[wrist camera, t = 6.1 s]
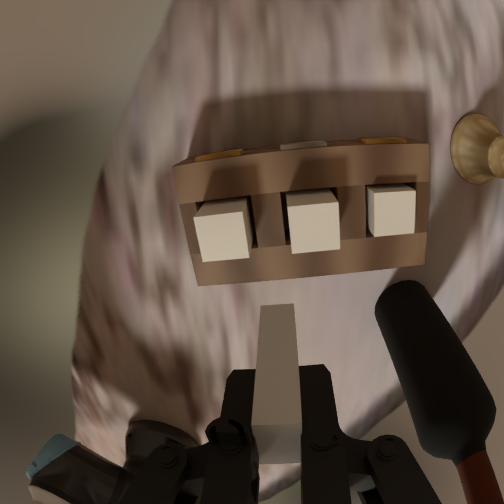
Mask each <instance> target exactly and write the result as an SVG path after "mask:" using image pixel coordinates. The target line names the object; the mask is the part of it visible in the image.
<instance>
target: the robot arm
mask: <svg viewBox="0 0 504 504" xmlns="http://www.w3.org/2000/svg"><path fill="white" fill-rule="evenodd" d="M205 433H206V436H207V438H208V440H209V442H207V443H206V444H204V445H200V446H198V444H197V442H196V441H195V440H194V439H193V438H192V437H190V436H189V435H188V434H186V433H184V432H183V431H181V430H179V429H176V428H174V427H172V426H169V425H166V424H162V423H158V422H153V421H136V422H133V423H132V424H130V426H129V428H128V430H127V433H126V439H125V440H126V460H125V464H124V466H123V467H121V466H119V465H117V464H115V463H113V462H111V461H109V460H107V459H106V458H104V457H102V456H100V455H99V454H97V453H95V452H93V451H92V450H90V449H88V448H87V447H85V446H84V445H82V444H81V443H80V442H77V441H74V440H73V439H71V438H70V437H68V436H66V435H64V434H62V433H57V434H55V435H53V436H52V437H51V438H50V439H49V440H48V441H47V443H46V444H45V445H44V446H43V447H42V449H41V450H40V451H39V453H38V454H37V456H36V457H35V458H34V460H33V462H32V463H31V464H30V466H29V467H28V469H27V471H26V475H27V476H28V478H29V479H31V480H32V481H31V483H30V485H29V490H30V492H31V495H32V497H33V501H32V503H31V504H258V496H259V480H260V477H259V472H258V469H259V463H260V464H285V463H301V504H351V496H350V490H353V491H357V493H358V495H359V497H360V500H361V502H362V504H442V503H441V502H440V500H439V498H438V496H437V495H436V493H435V491H434V489H433V488H432V486H431V484H430V483H429V481H428V480H427V478H426V476H425V474H424V473H423V471H422V469H421V468H420V466H419V464H418V462H417V461H416V459H415V458H414V456H413V454H412V453H411V451H410V449H409V448H408V446H407V444H406V443H405V442H404V441H403V440H402V439H401V438H399V437H397V436H395V435H383V436H379V437H377V438H376V439H374V440H373V441H365V440H358V439H354V438H351V437H349V436H347V435H346V434H345V433H343V432H342V430H341V429H340V427H339V424H338V417H337V411H336V404H335V398H334V393H333V386H332V380H331V374H330V372H329V370H328V369H327V368H326V367H325V365H324V364H319V365H307V366H299V365H298V351H297V338H296V325H295V313H294V304H280V305H264V306H261V309H260V322H259V335H258V348H257V361H256V369H244V370H233V371H232V373H231V374H230V375H229V377H228V378H227V381H226V387H225V393H224V400H223V404H222V410H221V416H220V418H217V419H215V420H213V421H212V422H211V423H210V424H209V425H208V426H207V428H206V430H205Z"/></svg>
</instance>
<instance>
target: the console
mask: <svg viewBox="0 0 504 504" xmlns="http://www.w3.org/2000/svg"><path fill="white" fill-rule="evenodd" d="M172 170H173V176H174V181H175V186H176V191H177V196H178V200H179V205H180V210H181V215H182V219H183V224H184V228H185V233H186V237H187V242H188V246H189V250H190V255H191V259H192V263H193V267H194V272H195V276H196V280H197V284H198V286H208V285H221V284H234V283H247V282H259V281H270V280H282V279H293V278H304V277H314V276H324V275H334V274H344V273H354V272H363V271H372V270H381V269H390V268H399V267H407V266H416V265H424V263H425V254H426V243H427V231H428V215H429V186H430V158H429V144H428V143H424V142H420V141H416V140H412V139H408V138H407V139H402V138H398V137H385V138H359V140H342V141H326V142H325V141H323V140H321V141H309V142H297V143H287V144H280V146H271V147H262V148H254V149H246V150H243V149H236V150H229V151H222V152H216V153H209V154H203V155H200V156H198V157H193V158H187V159H185V160H183V161H181V162H180V163H178V164H176V165H174V166H172ZM385 183H404V184H406V185H408V186H409V187H411V188H412V189H414V190H416V203H415V228H414V233H411V234H400V235H389V236H379V237H374V236H373V234H372V233H371V232H370V230H369V229H368V228H367V226H366V203H365V185H369V184H385ZM317 188H329V189H330V190H331V192H332V193H333V195H334V196H335V198H336V199H337V201H338V204H339V226H340V249H338V250H327V251H317V252H306V253H296V254H292V249H291V239H290V229H289V219H288V209H287V200H286V191H295V190H305V189H317ZM239 196H248V200H249V207H250V214H251V221H252V227H253V234H254V236H253V242H252V247H251V252H250V258H242V259H231V260H220V261H210V262H203V261H202V256H201V252H200V247H199V242H198V238H197V233H196V228H195V223H194V219H193V217H194V216H195V215H196V213H197V212H198V211H199V209H200V208H201V207H202V205H203V204H204V203H205V201H208V200H215V199H223V198H231V197H239Z"/></svg>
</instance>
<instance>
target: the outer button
mask: <svg viewBox="0 0 504 504" xmlns="http://www.w3.org/2000/svg"><path fill="white" fill-rule="evenodd" d="M365 203H366V226H367V228H368V229H369V230H370V232H371V233H372V234H373V236H374V237H379V236H389V235H400V234H411V233H414V228H415V203H416V190H414V189H412V188H411V187H409V186H408V185H406V184H404V183H385V184H369V185H365Z"/></svg>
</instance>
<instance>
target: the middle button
mask: <svg viewBox="0 0 504 504" xmlns="http://www.w3.org/2000/svg"><path fill="white" fill-rule="evenodd" d="M286 200H287V209H288V219H289V229H290V239H291V249H292V254H296V253H306V252H317V251H327V250H338V249H340V226H339V204H338V201H337V199H336V198H335V196H334V195H333V193H332V192H331V190H330V189H329V188H317V189H305V190H295V191H286Z"/></svg>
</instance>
